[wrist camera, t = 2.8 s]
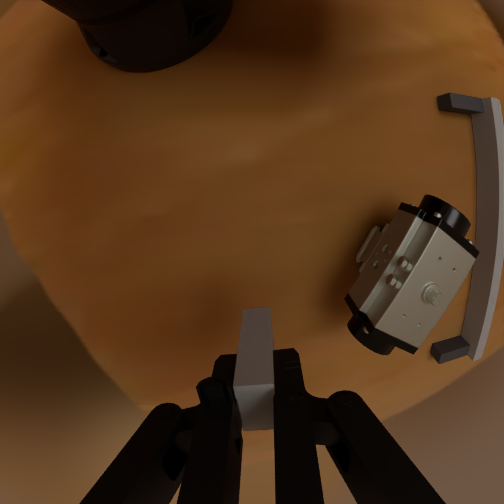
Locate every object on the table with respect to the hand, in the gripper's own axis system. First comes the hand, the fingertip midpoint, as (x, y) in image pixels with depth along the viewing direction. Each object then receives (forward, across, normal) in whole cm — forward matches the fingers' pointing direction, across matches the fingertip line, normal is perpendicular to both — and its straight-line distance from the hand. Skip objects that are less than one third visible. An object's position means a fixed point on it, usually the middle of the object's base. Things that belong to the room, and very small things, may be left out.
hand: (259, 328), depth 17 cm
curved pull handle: (+12, +26, 0) cm, 28 cm away
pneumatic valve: (+12, +11, 0) cm, 17 cm away
